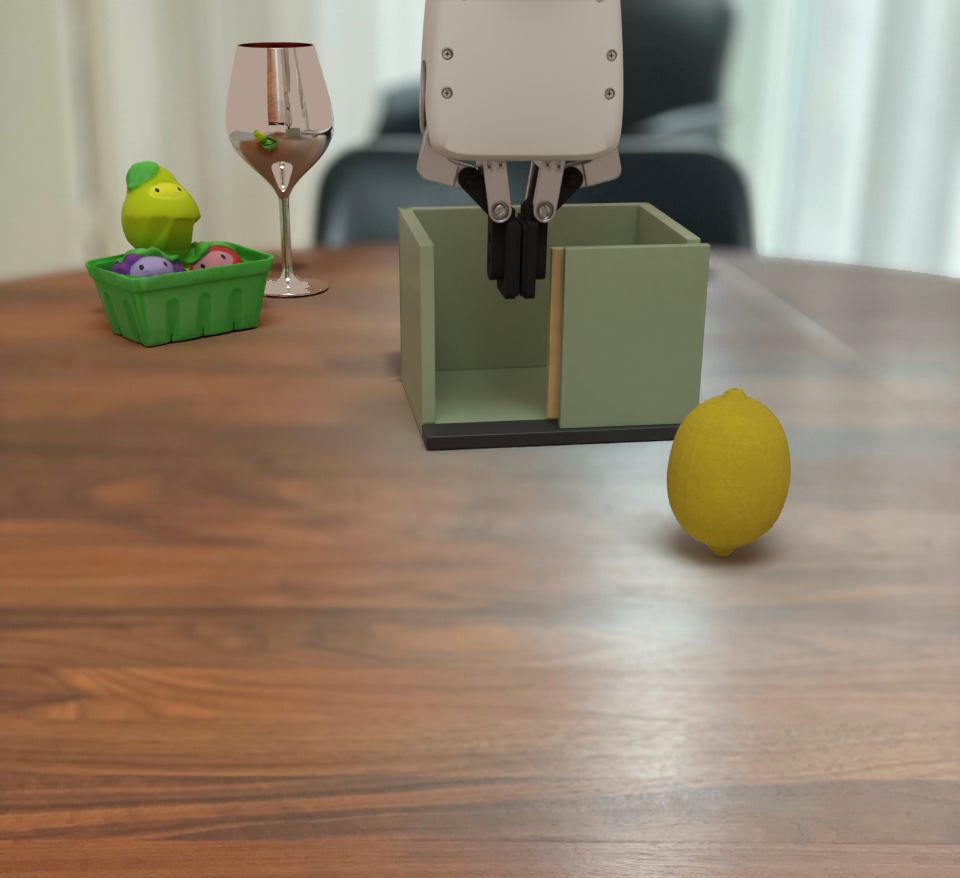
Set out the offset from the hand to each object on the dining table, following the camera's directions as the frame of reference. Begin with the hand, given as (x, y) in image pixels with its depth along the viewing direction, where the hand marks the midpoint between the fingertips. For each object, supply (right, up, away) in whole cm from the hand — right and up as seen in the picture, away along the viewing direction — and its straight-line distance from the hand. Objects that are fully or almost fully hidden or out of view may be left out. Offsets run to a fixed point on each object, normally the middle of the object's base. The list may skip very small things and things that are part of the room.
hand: (515, 292), depth 81 cm
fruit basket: (-23, +3, +26) cm, 35 cm away
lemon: (+9, -15, -11) cm, 21 cm away
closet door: (+6, -6, +4) cm, 9 cm away
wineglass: (-17, +9, +38) cm, 42 cm away
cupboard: (+2, -5, +9) cm, 11 cm away
